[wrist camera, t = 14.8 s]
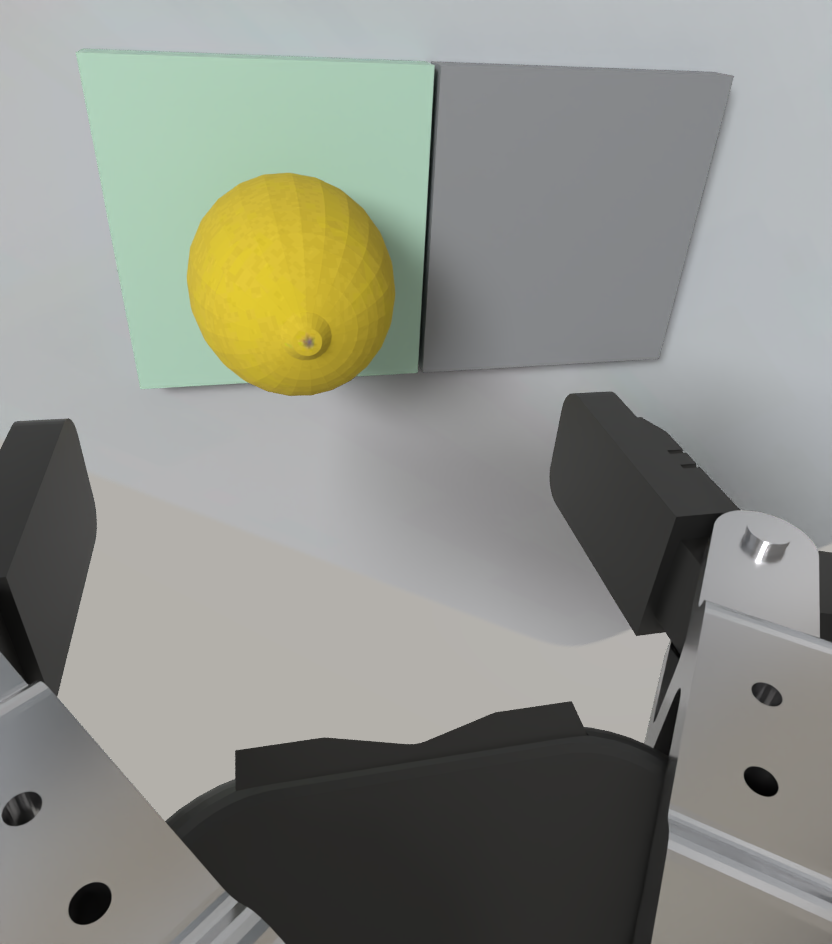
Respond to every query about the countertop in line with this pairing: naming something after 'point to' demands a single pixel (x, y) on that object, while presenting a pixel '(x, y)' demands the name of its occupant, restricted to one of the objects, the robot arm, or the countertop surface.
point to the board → (417, 194)
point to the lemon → (291, 284)
